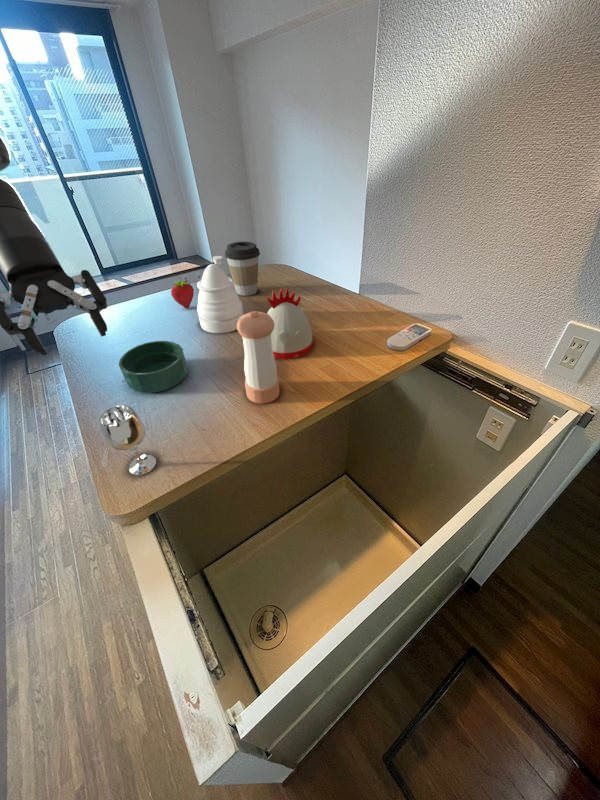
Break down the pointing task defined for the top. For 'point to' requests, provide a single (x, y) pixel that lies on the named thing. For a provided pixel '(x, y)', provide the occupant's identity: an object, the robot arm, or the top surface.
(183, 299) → the strawberry
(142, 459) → the wineglass
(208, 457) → the top surface
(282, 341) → the kitchen timer
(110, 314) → the top surface
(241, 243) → the coffee cup
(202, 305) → the honey pot
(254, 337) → the salt shaker
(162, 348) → the green bowl
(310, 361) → the top surface
